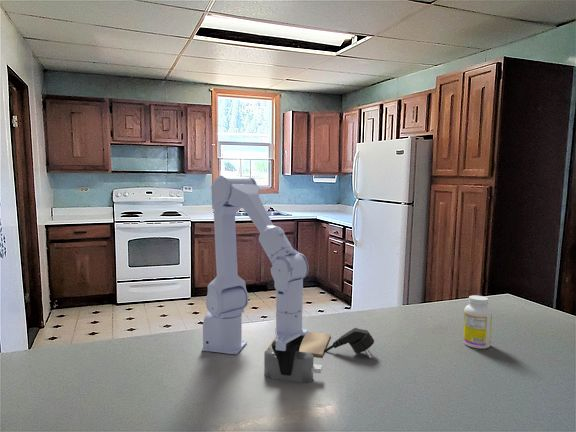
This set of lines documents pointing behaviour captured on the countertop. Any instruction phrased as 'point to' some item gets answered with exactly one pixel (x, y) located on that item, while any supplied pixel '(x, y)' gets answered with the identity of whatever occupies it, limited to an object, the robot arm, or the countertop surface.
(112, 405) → the countertop surface
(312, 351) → the oak board
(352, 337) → the power plug
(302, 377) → the grey capsule with tab
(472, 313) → the supplement bottle
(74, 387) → the countertop surface
